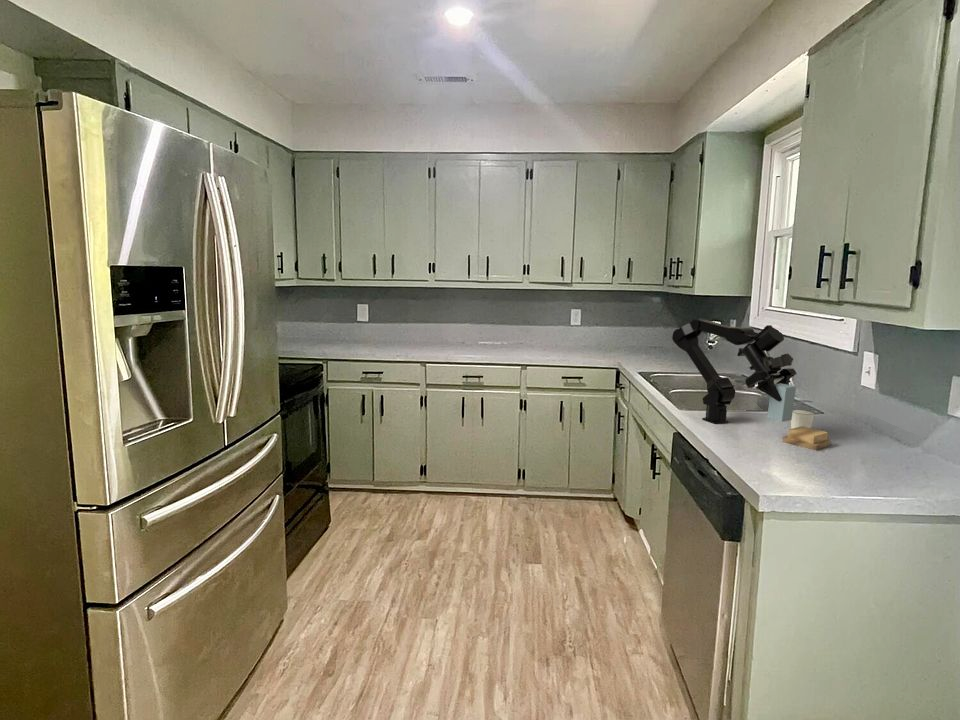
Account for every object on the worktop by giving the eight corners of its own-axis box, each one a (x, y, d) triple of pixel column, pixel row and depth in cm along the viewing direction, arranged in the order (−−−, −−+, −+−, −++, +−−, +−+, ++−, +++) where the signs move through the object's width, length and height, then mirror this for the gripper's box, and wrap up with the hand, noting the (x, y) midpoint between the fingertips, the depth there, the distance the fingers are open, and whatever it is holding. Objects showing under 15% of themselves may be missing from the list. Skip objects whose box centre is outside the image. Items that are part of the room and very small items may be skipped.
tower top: (787, 437, 181) (788, 429, 181) (801, 433, 186) (802, 426, 185) (813, 443, 175) (814, 436, 174) (827, 440, 179) (827, 432, 179)
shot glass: (804, 429, 197) (806, 409, 196) (816, 435, 190) (818, 414, 189) (784, 428, 197) (787, 409, 196) (796, 434, 190) (798, 414, 189)
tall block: (767, 417, 184) (771, 384, 182) (777, 416, 186) (781, 383, 184) (781, 421, 180) (786, 387, 178) (791, 420, 182) (796, 386, 180)
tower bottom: (782, 444, 182) (783, 436, 182) (796, 439, 188) (797, 431, 188) (815, 453, 174) (816, 445, 174) (829, 447, 180) (830, 439, 180)
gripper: (757, 346, 178) (786, 388, 170) (794, 343, 187) (823, 383, 179) (733, 366, 186) (759, 407, 179) (769, 363, 195) (796, 402, 187)
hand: (785, 399), depth 181 cm, fingers closed on tall block, 5 cm apart
